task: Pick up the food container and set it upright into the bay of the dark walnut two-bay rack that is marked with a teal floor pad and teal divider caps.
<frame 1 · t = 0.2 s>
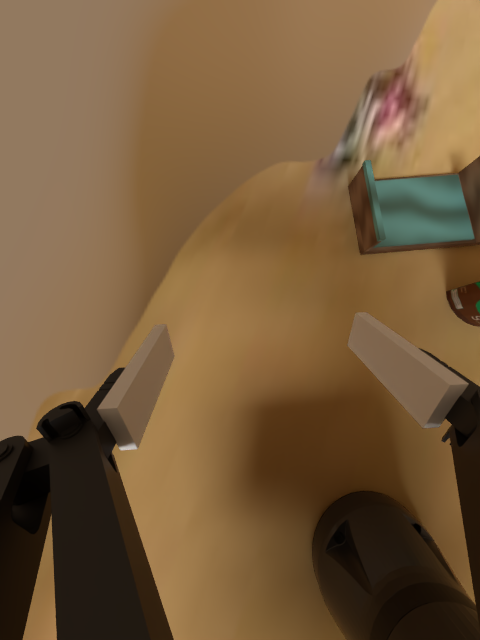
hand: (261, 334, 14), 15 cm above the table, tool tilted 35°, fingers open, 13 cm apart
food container: (476, 314, 30), on the table
rack: (461, 211, 32), on the table
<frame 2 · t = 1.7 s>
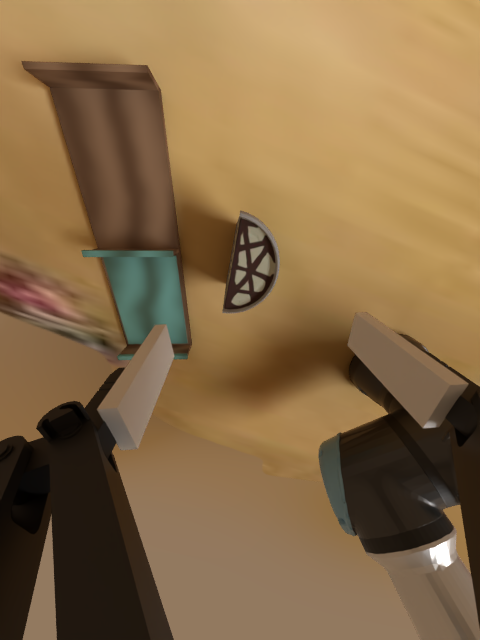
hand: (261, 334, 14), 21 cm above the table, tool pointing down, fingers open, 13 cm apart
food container: (249, 259, 32), on the table
rack: (141, 249, 31), on the table
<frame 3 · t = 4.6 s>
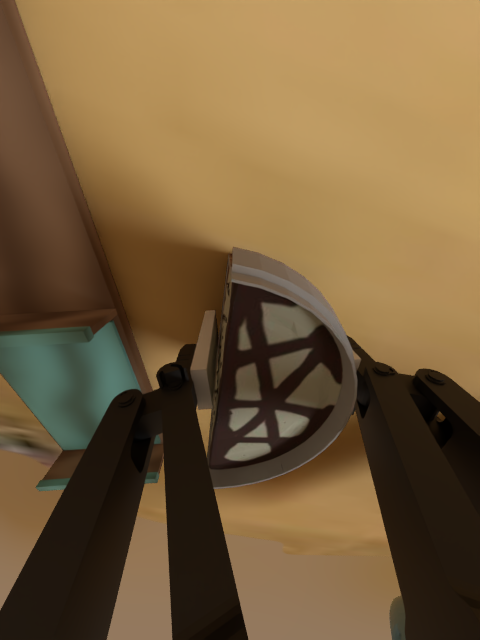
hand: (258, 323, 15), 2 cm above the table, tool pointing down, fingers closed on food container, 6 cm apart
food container: (257, 313, 17), on the table, touching gripper
rack: (48, 310, 16), on the table
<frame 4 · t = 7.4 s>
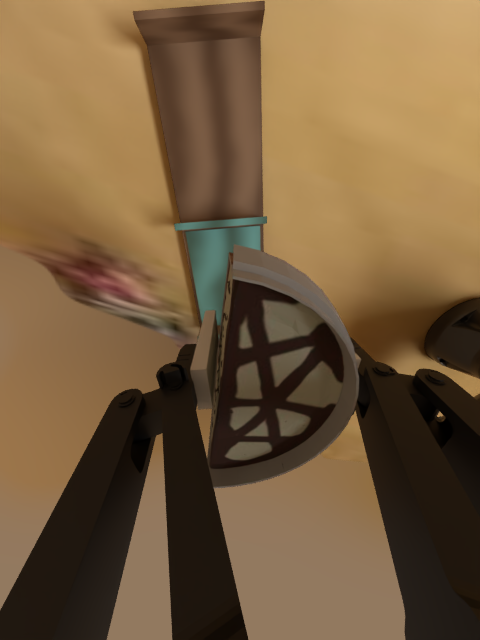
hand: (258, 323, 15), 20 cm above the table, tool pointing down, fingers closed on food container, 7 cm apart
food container: (257, 312, 17), point 18 cm above the table, touching gripper
rack: (222, 222, 30), on the table
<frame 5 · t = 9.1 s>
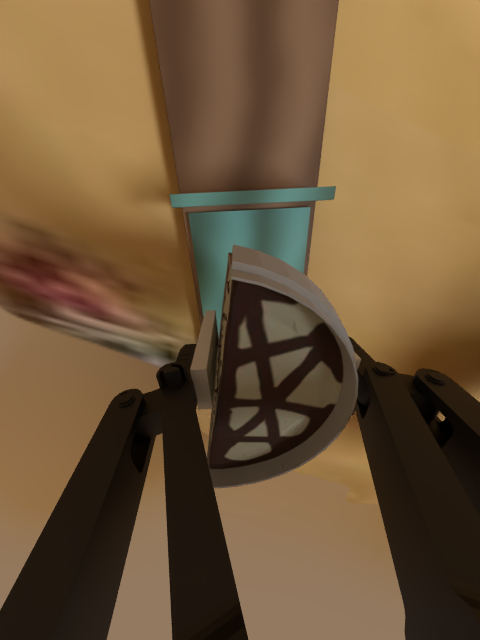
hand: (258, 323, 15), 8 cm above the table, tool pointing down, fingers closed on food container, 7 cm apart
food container: (257, 312, 17), point 6 cm above the table, touching gripper
rack: (248, 201, 18), on the table
when the fingers open (4 cm above the table, at t = 10.2 s): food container stays where it is, resting on rack.
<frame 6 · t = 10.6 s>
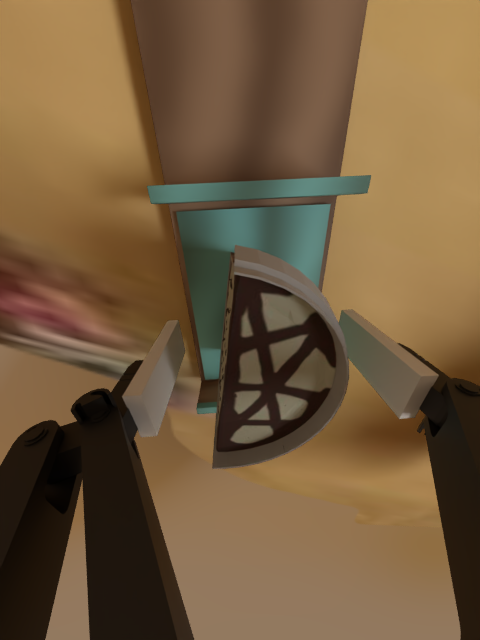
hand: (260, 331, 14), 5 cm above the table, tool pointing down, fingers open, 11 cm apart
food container: (258, 309, 18), point 1 cm above the table, touching rack
rack: (251, 196, 15), on the table
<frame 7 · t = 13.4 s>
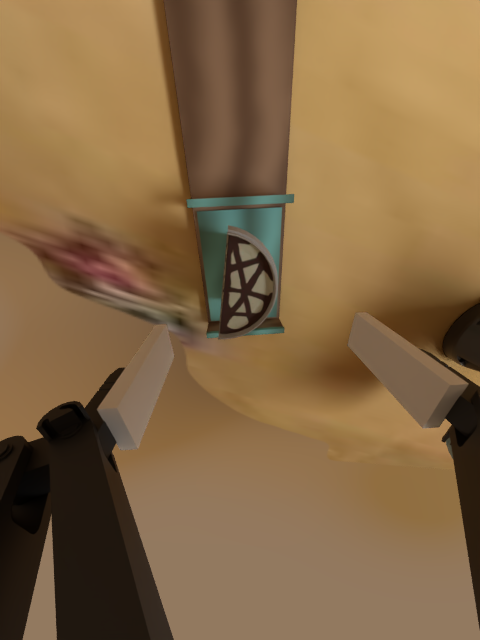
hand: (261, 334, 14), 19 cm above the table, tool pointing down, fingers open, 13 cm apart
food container: (244, 271, 29), point 1 cm above the table, touching rack
rack: (238, 203, 26), on the table
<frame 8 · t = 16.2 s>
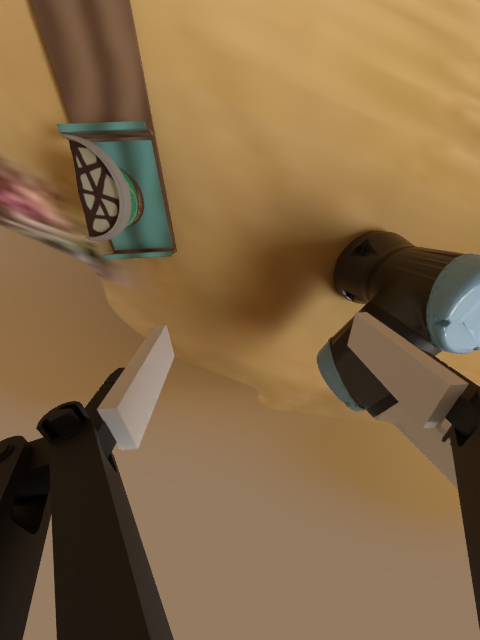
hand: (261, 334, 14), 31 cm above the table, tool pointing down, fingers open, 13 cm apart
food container: (133, 201, 35), point 1 cm above the table, touching rack
rack: (117, 138, 32), on the table
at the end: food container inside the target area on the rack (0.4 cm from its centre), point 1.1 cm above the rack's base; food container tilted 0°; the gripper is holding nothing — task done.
